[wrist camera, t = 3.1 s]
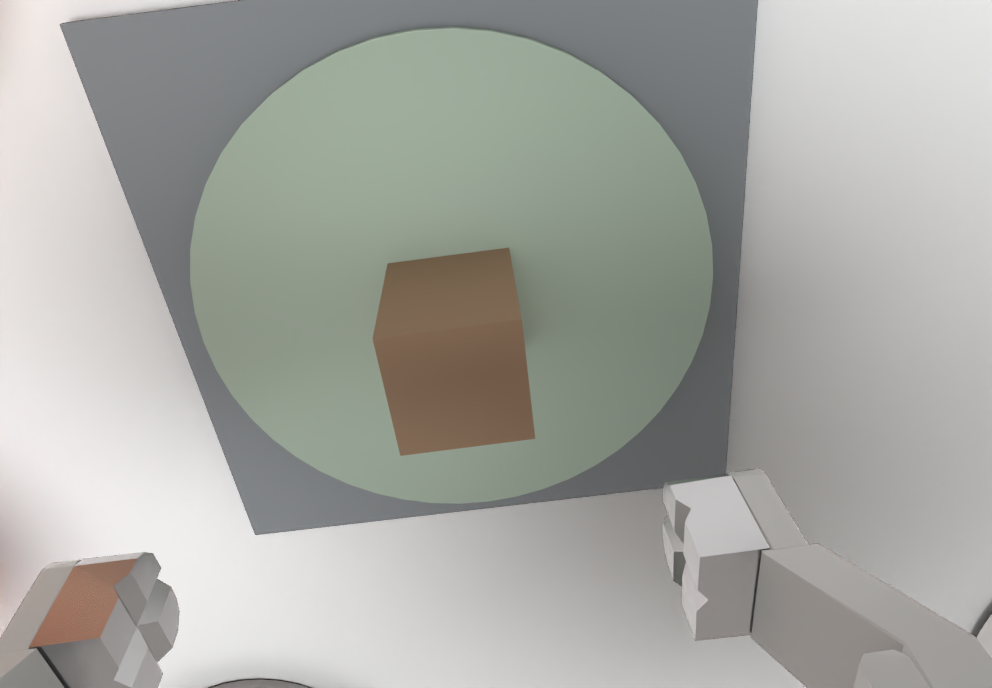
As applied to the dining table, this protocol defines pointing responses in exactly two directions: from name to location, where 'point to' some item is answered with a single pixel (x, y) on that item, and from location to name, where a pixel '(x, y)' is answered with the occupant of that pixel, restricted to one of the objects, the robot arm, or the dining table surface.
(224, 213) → the cover
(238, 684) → the canned tomato
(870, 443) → the dining table surface
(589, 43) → the mat
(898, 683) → the robot arm
